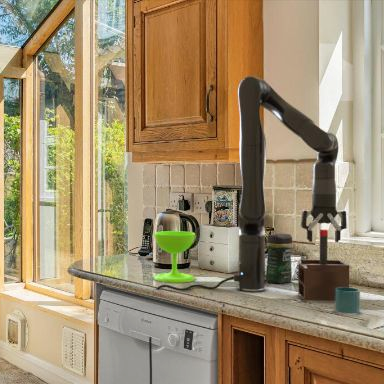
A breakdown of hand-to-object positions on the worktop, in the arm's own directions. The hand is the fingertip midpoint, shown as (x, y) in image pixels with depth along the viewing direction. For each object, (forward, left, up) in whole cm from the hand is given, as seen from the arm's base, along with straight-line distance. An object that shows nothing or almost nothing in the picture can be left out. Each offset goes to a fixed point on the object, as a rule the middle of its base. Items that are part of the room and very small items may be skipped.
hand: (323, 241), depth 196 cm
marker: (0, 0, -8) cm, 8 cm away
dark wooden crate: (0, 0, -19) cm, 19 cm away
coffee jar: (-10, +29, -19) cm, 36 cm away
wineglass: (-50, +31, -19) cm, 62 cm away
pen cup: (+3, -19, -19) cm, 27 cm away
